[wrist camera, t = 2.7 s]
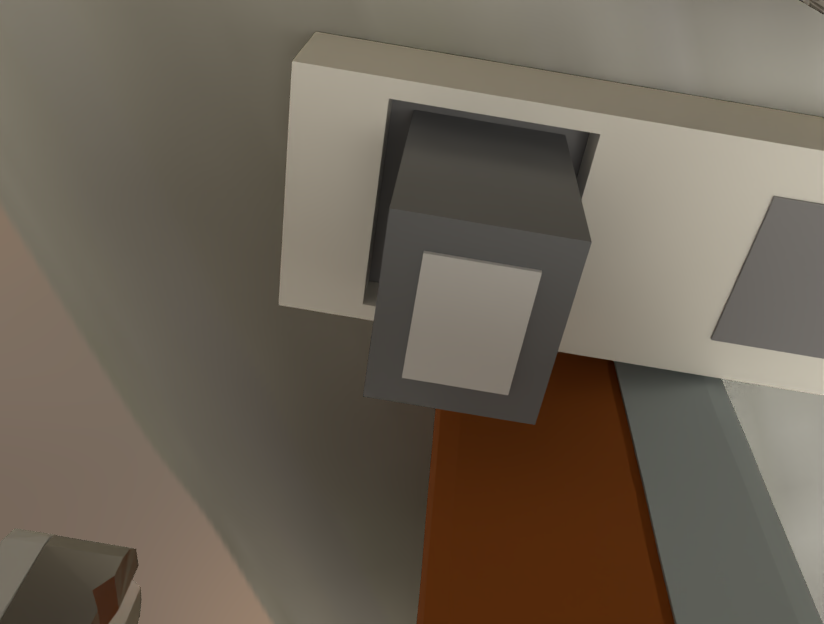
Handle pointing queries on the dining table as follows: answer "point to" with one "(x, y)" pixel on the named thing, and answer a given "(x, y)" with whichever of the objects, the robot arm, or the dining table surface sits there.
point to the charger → (477, 268)
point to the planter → (815, 4)
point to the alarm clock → (606, 510)
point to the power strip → (601, 197)
